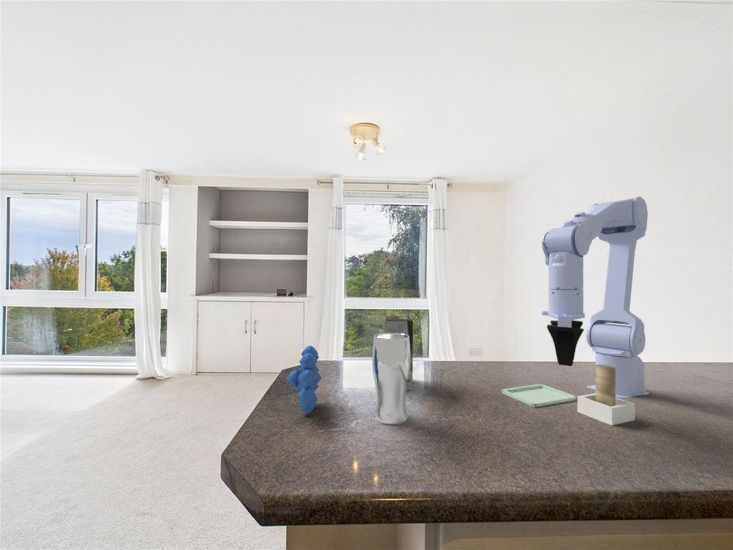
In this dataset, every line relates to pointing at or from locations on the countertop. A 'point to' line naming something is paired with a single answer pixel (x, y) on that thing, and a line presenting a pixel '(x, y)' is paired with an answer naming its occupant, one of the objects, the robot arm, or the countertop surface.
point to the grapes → (306, 379)
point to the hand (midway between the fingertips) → (565, 360)
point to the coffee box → (403, 327)
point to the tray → (538, 395)
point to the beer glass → (391, 376)
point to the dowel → (605, 385)
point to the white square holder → (606, 410)
